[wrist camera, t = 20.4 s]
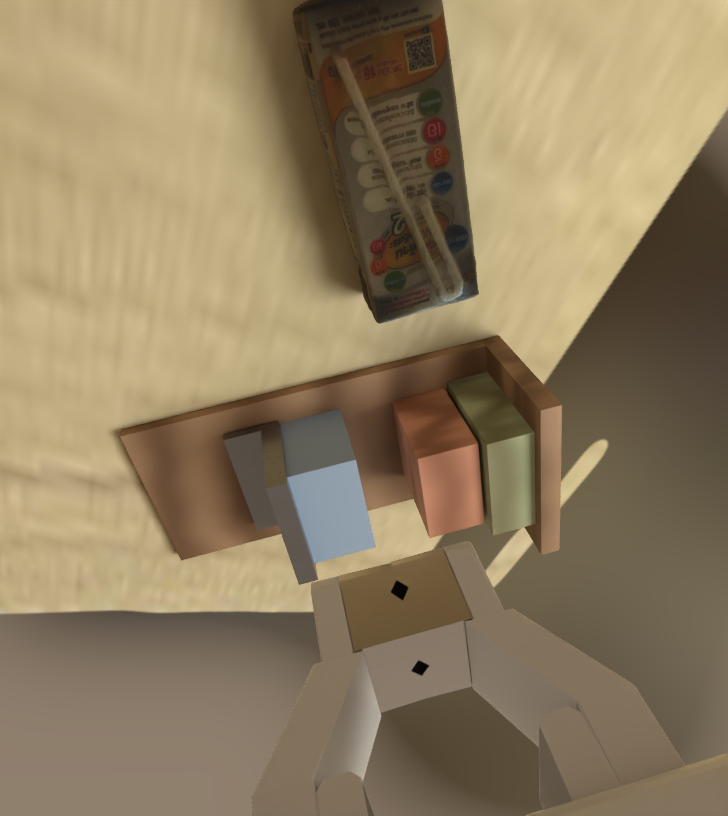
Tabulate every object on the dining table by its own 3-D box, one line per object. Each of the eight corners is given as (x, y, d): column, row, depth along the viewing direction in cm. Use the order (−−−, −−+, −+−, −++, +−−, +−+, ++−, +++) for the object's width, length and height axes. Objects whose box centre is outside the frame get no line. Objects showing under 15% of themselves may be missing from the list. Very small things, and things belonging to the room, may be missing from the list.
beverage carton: (358, 298, 45) (376, 334, 40) (283, 5, 35) (293, -1, 29) (457, 269, 45) (488, 300, 40) (412, -31, 35) (445, -44, 29)
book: (340, 408, 48) (355, 459, 42) (359, 490, 53) (375, 546, 47) (279, 423, 48) (287, 477, 42) (304, 505, 53) (314, 563, 47)
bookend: (278, 420, 47) (287, 483, 41) (306, 511, 53) (317, 579, 46) (223, 434, 47) (222, 500, 40) (256, 524, 53) (261, 595, 46)
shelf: (498, 335, 49) (561, 405, 40) (505, 466, 56) (559, 550, 47) (121, 429, 46) (95, 525, 37) (181, 552, 54) (172, 657, 45)
